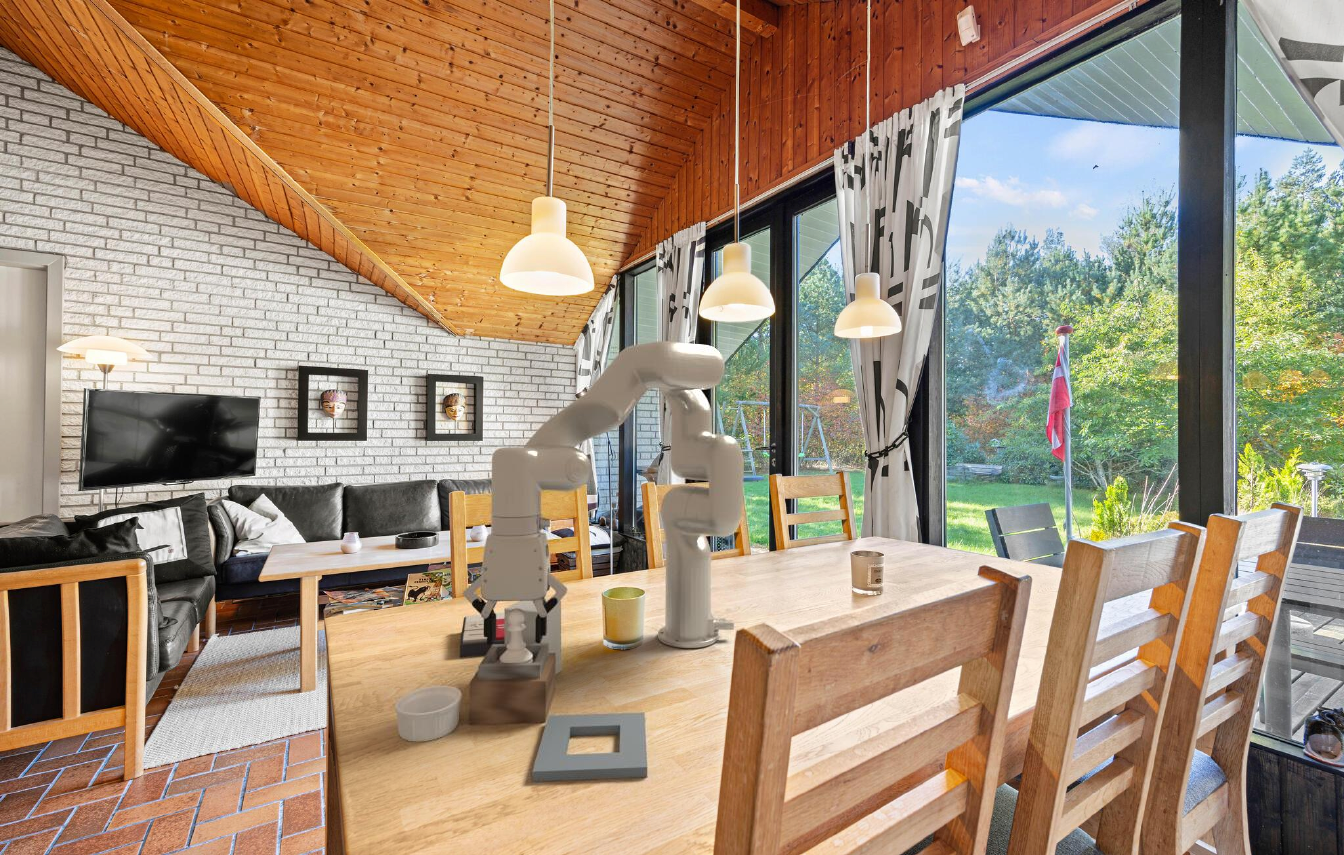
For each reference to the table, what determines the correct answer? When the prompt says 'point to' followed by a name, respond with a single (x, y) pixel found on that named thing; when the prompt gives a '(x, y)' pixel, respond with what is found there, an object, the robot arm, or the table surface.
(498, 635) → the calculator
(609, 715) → the board
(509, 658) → the chess pawn
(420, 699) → the ramekin
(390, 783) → the table surface
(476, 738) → the table surface
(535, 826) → the table surface
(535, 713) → the riser socket
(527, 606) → the supplement box
